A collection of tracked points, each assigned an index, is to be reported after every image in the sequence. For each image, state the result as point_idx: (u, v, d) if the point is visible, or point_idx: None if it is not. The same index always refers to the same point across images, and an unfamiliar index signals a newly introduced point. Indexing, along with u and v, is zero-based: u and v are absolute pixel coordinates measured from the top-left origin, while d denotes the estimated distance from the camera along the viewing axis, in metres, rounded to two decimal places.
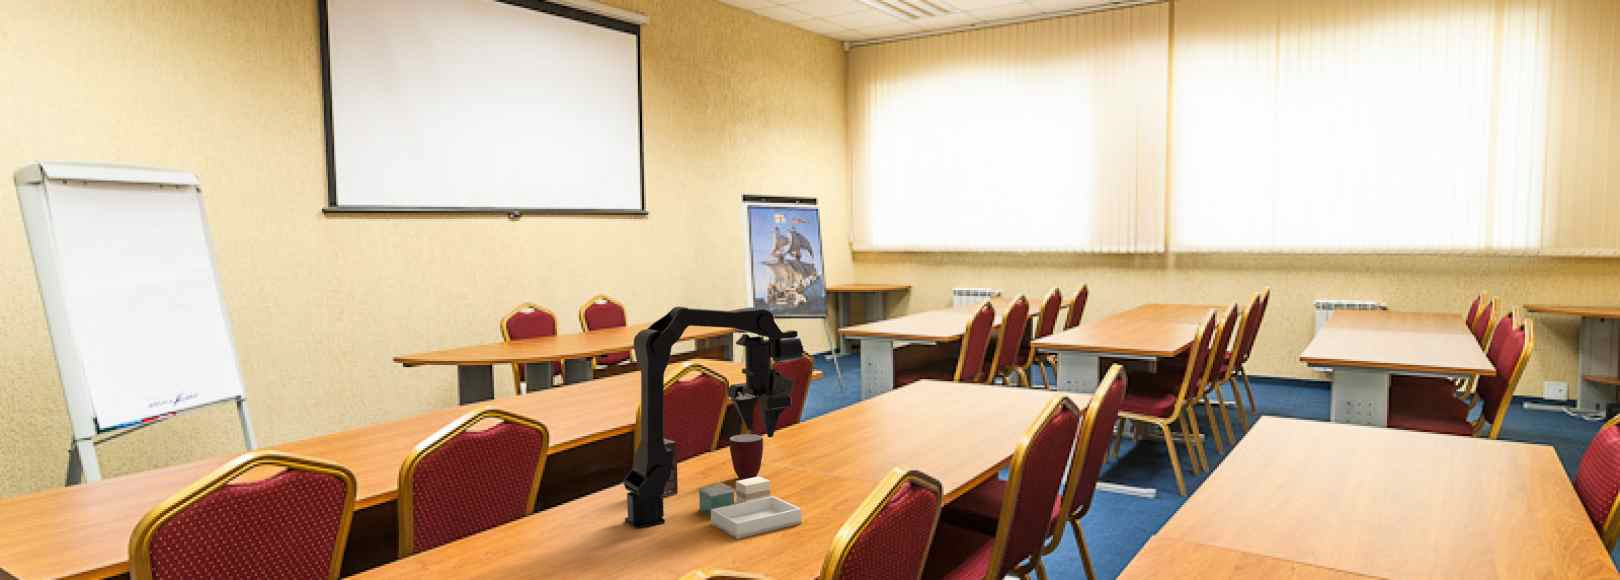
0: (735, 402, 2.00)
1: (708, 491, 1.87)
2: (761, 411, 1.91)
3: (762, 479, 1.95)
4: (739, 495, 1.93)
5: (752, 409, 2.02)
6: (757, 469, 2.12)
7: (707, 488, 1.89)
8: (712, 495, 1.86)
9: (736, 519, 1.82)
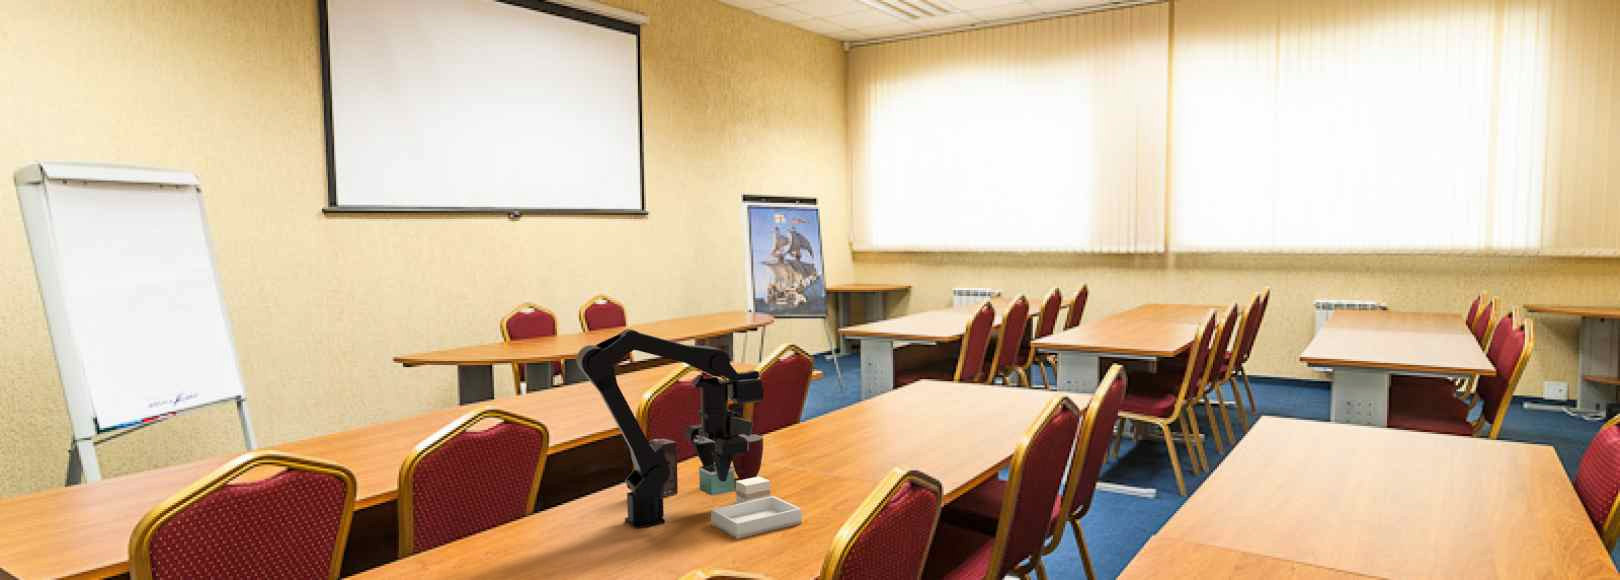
0: (695, 446, 1.91)
1: (708, 470, 1.87)
2: (712, 455, 1.84)
3: (762, 479, 1.95)
4: (739, 495, 1.93)
5: None
6: (757, 469, 2.12)
7: (707, 467, 1.89)
8: (712, 474, 1.86)
9: (736, 519, 1.82)
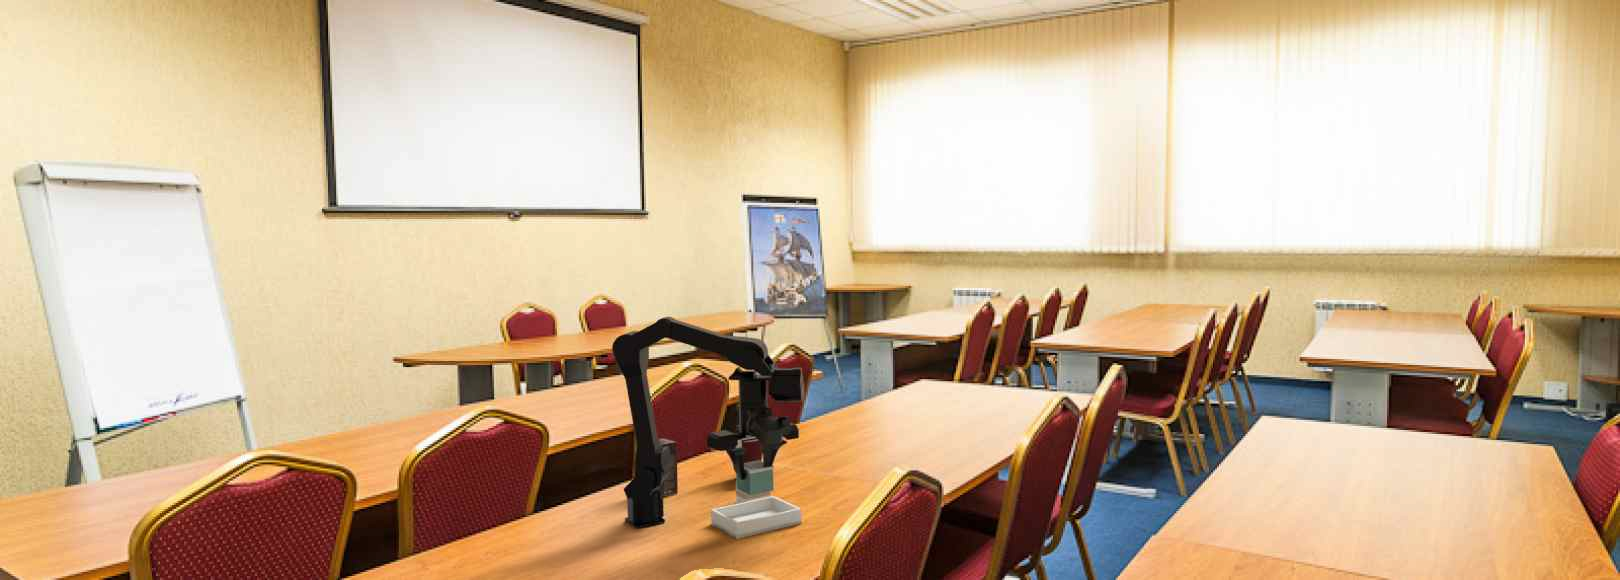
0: None
1: (744, 463, 1.81)
2: None
3: None
4: (739, 495, 1.93)
5: (770, 453, 1.81)
6: None
7: (755, 463, 1.82)
8: None
9: (736, 519, 1.82)
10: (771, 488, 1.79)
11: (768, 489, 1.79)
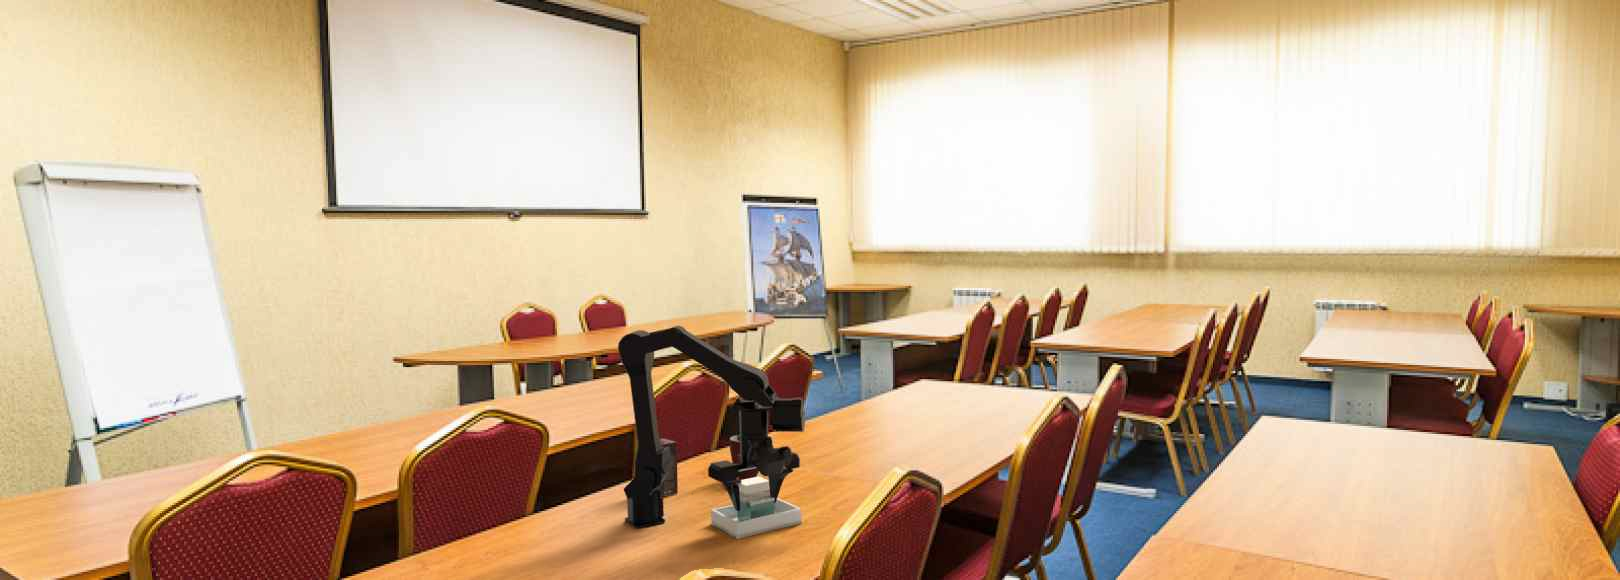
0: None
1: (745, 494, 1.82)
2: None
3: (762, 479, 1.95)
4: None
5: (776, 482, 1.82)
6: (757, 469, 2.12)
7: (755, 493, 1.82)
8: None
9: (736, 519, 1.82)
10: None
11: None
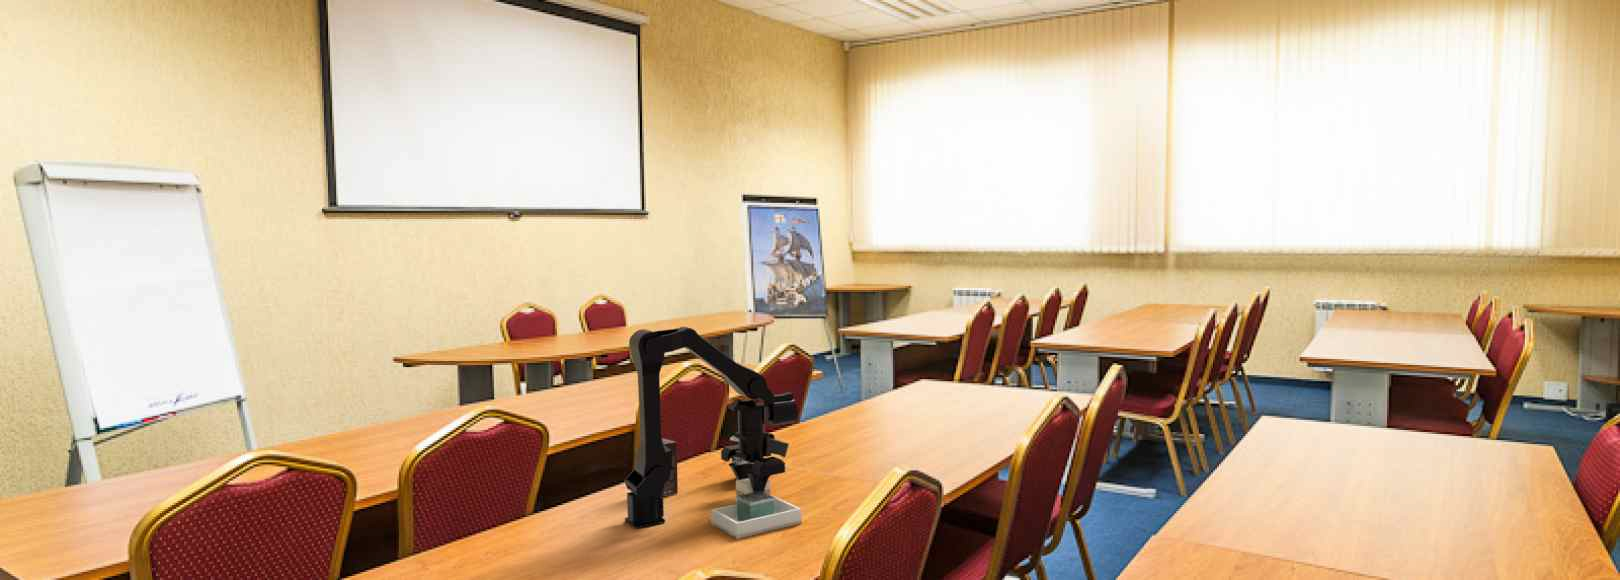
0: (733, 467, 1.96)
1: (745, 494, 1.82)
2: (749, 475, 1.90)
3: None
4: None
5: None
6: None
7: (755, 493, 1.82)
8: (738, 498, 1.81)
9: (736, 519, 1.82)
10: None
11: None
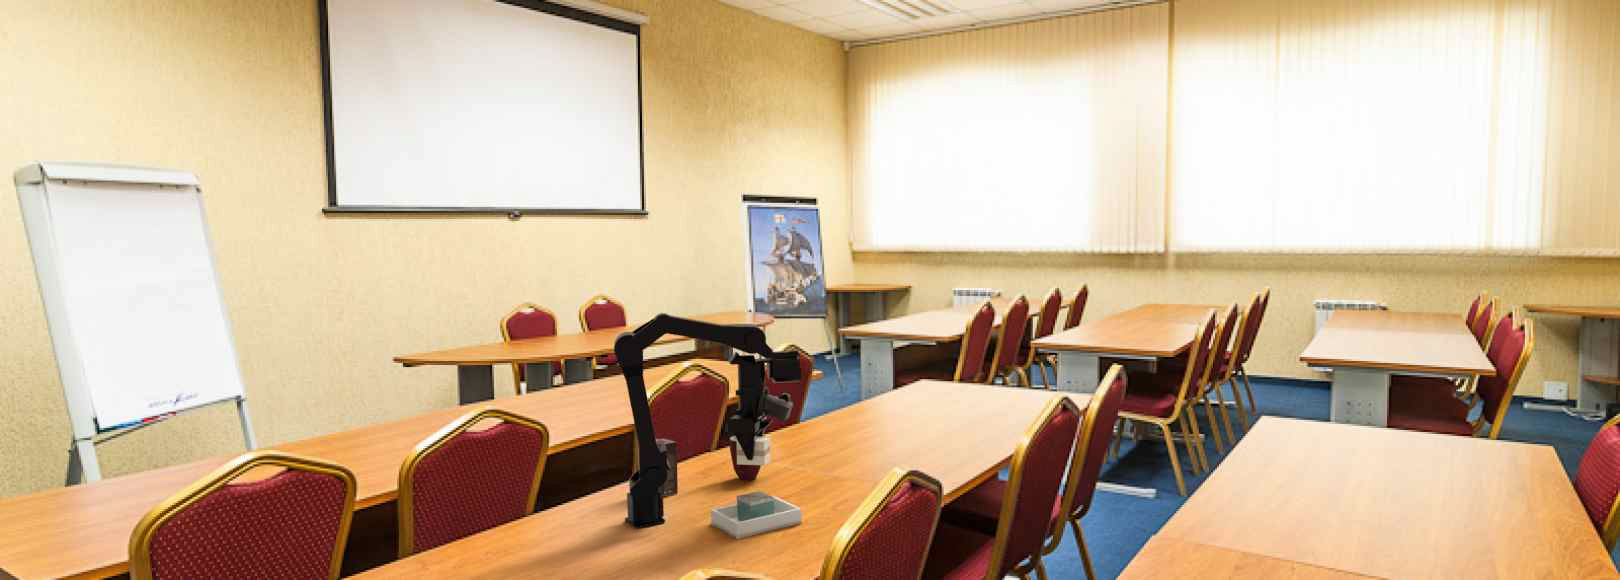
0: None
1: (745, 494, 1.82)
2: None
3: (763, 439, 1.86)
4: None
5: (760, 433, 1.89)
6: (757, 469, 2.12)
7: (755, 493, 1.82)
8: (738, 498, 1.81)
9: (736, 519, 1.82)
10: None
11: None
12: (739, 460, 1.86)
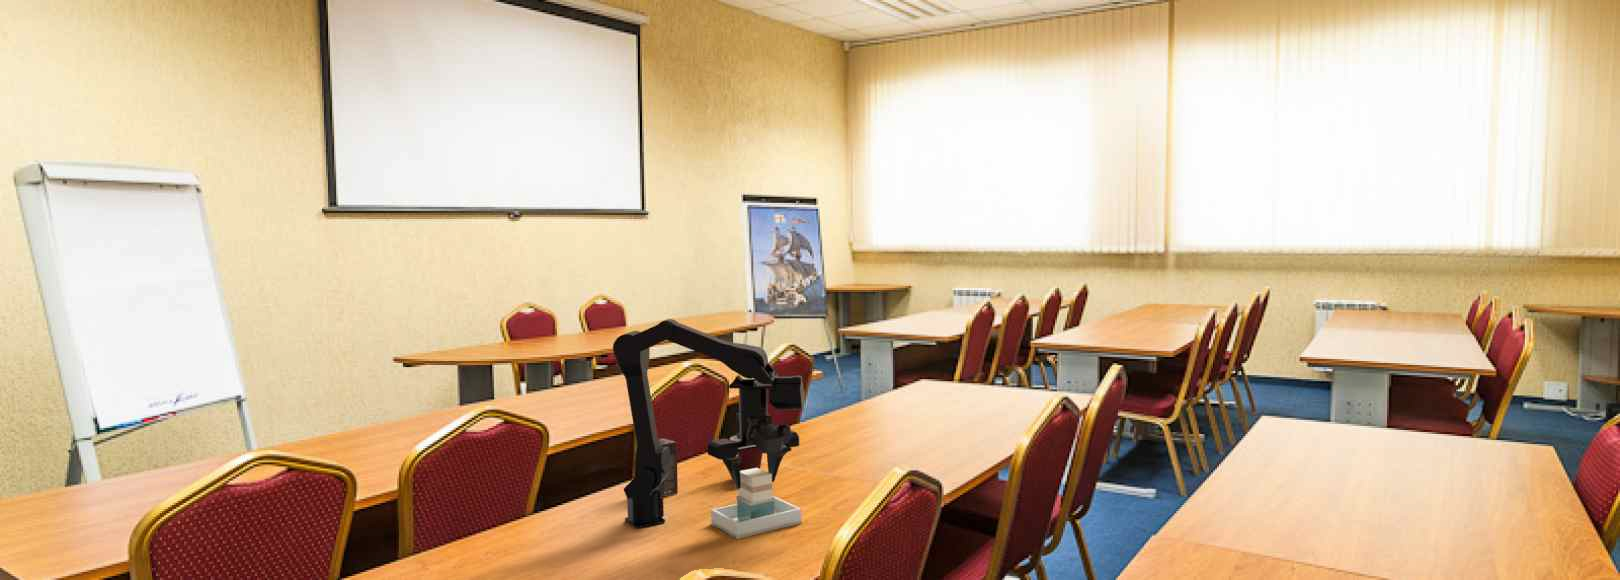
0: None
1: None
2: None
3: (759, 475, 1.78)
4: None
5: (774, 461, 1.81)
6: None
7: None
8: (738, 498, 1.81)
9: (736, 519, 1.82)
10: None
11: None
12: (739, 491, 1.81)
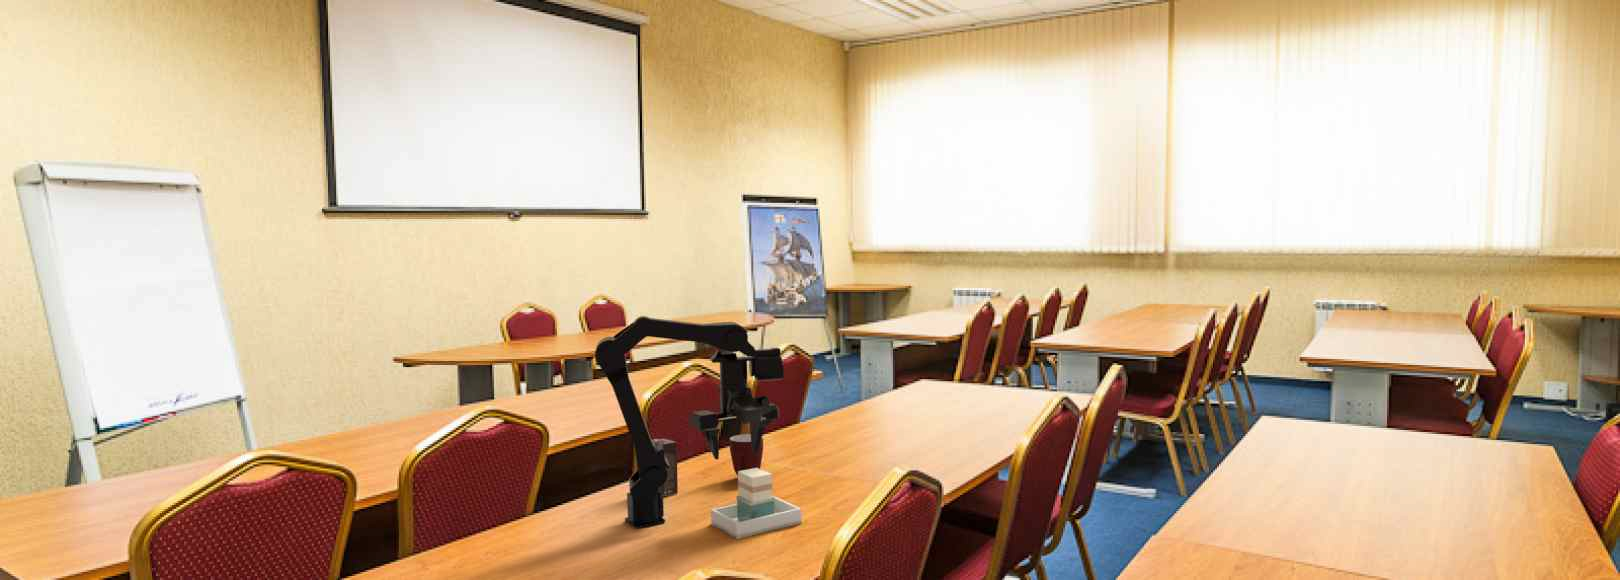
0: None
1: None
2: None
3: (759, 475, 1.78)
4: None
5: (757, 432, 1.88)
6: None
7: None
8: (738, 498, 1.81)
9: (736, 519, 1.82)
10: None
11: None
12: (739, 491, 1.81)
